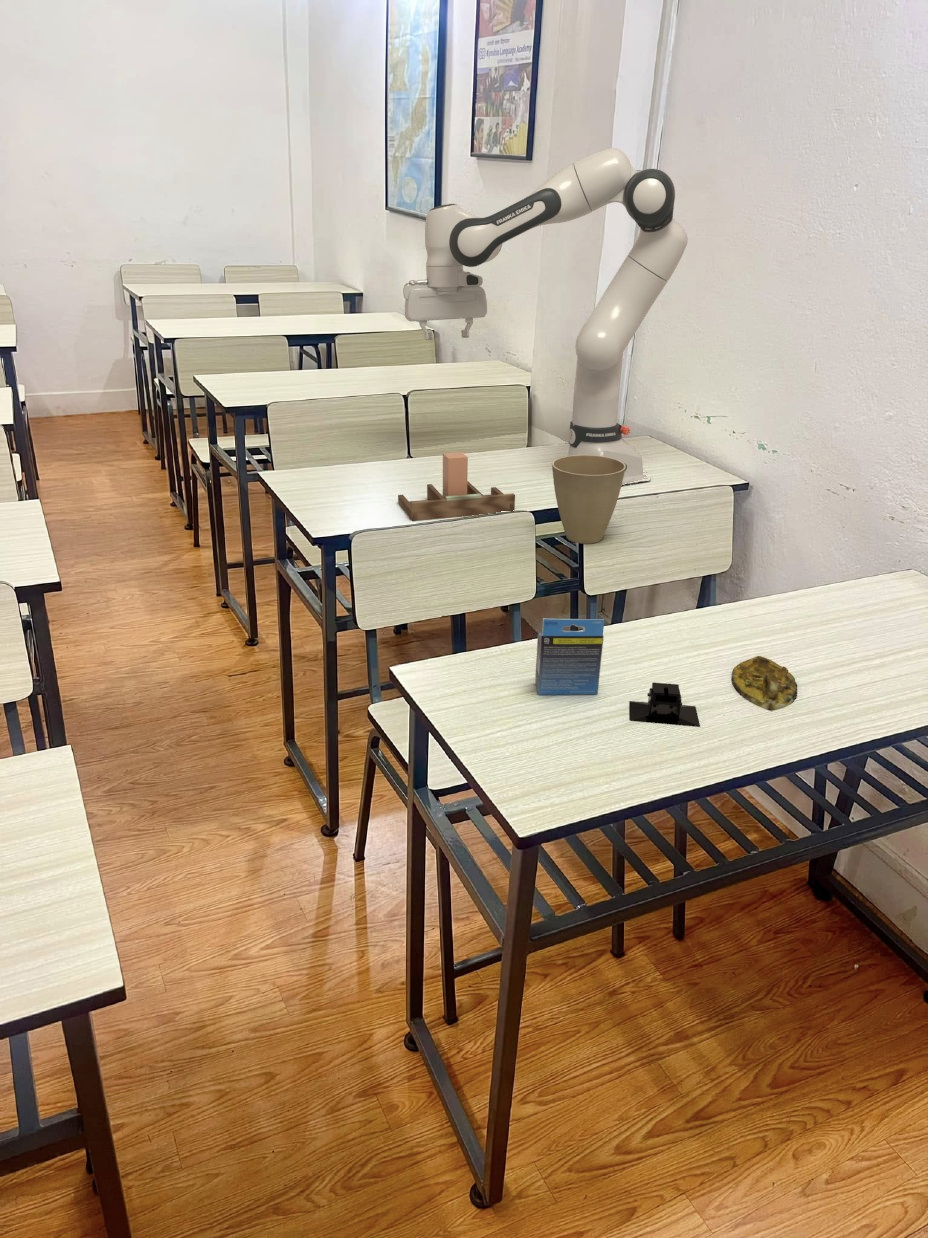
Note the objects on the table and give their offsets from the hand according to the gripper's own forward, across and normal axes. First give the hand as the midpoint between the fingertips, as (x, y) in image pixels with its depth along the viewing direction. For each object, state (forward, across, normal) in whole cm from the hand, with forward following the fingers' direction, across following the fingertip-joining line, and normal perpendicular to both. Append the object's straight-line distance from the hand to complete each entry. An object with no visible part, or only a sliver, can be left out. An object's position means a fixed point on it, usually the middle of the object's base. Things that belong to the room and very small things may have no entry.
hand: (446, 338), depth 221 cm
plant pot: (+36, +12, -56) cm, 68 cm away
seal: (+39, +12, -121) cm, 128 cm away
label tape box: (+37, -17, -114) cm, 121 cm away
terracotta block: (+34, -8, -29) cm, 45 cm away
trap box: (+34, -8, -30) cm, 46 cm away
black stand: (+38, -6, -124) cm, 130 cm away
